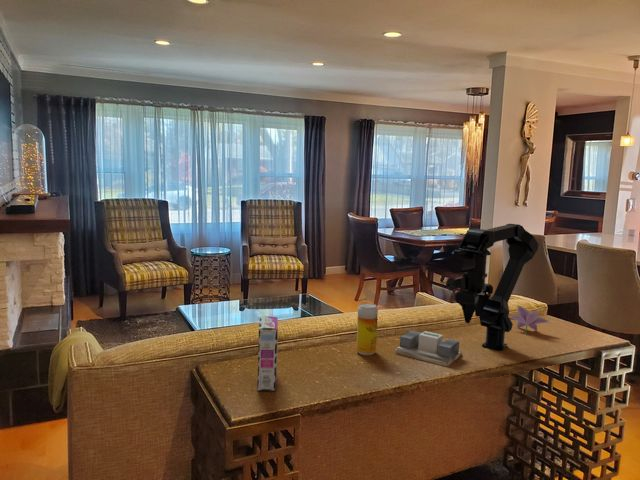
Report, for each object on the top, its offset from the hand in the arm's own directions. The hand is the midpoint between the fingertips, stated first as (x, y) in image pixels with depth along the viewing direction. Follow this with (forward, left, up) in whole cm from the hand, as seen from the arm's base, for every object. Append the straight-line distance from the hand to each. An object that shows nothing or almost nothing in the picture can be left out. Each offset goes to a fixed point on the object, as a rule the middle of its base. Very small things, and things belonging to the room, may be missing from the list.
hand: (472, 319), depth 157 cm
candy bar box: (+56, -35, -11) cm, 67 cm away
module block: (+8, -10, -10) cm, 16 cm away
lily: (-35, +9, -11) cm, 38 cm away
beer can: (+20, -26, -11) cm, 35 cm away
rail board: (+9, -10, -11) cm, 17 cm away
